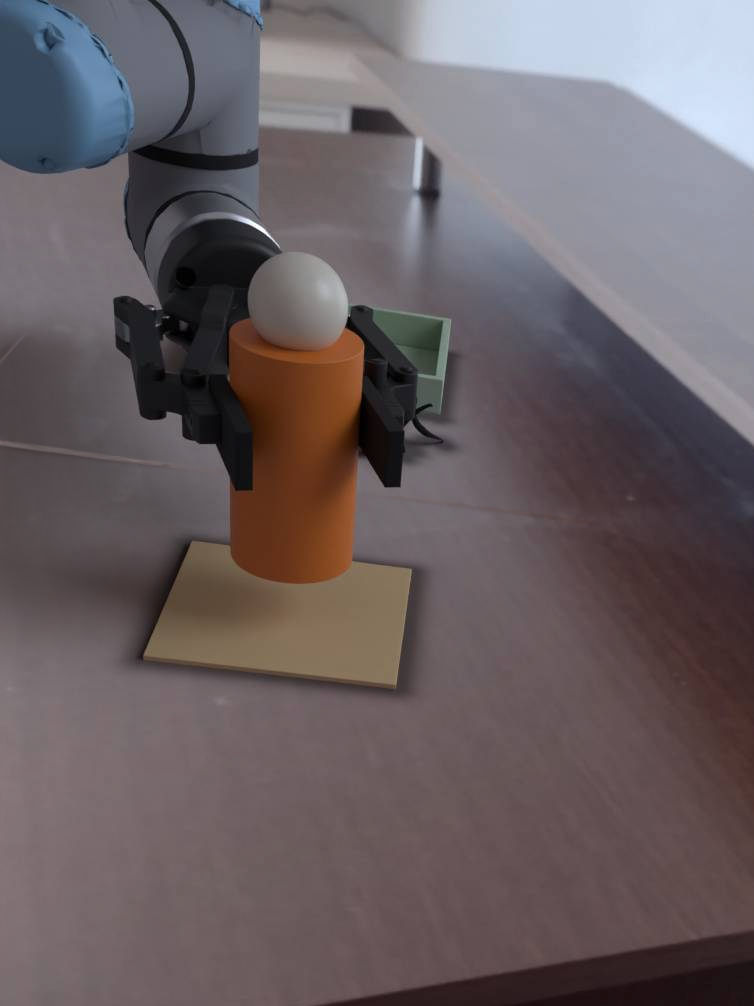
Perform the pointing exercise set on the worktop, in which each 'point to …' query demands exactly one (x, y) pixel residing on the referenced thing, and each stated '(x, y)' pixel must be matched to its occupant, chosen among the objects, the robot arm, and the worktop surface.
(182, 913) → the worktop surface
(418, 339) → the tray
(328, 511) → the skittle
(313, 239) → the worktop surface
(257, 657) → the mat
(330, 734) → the worktop surface
